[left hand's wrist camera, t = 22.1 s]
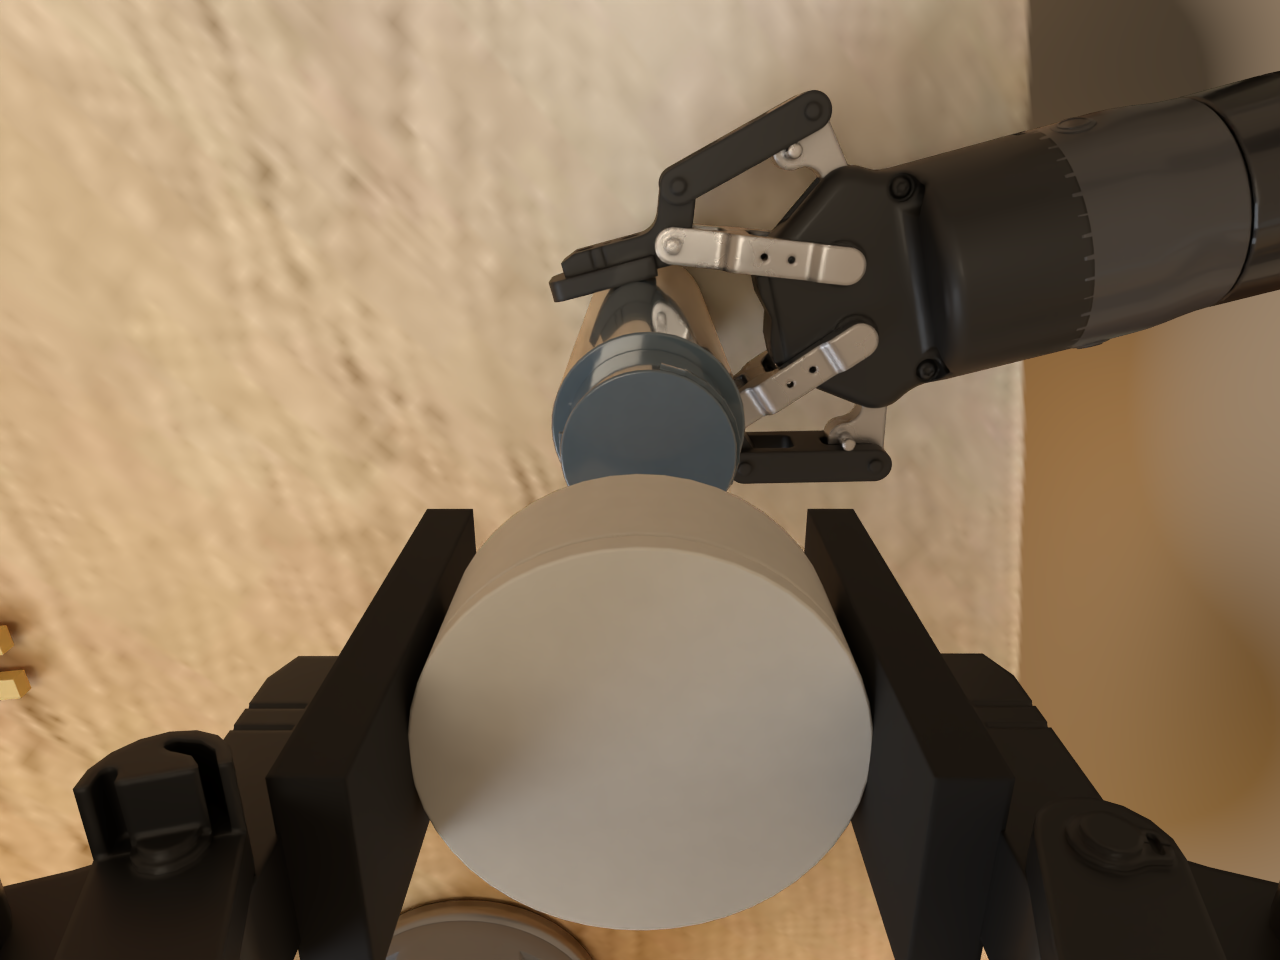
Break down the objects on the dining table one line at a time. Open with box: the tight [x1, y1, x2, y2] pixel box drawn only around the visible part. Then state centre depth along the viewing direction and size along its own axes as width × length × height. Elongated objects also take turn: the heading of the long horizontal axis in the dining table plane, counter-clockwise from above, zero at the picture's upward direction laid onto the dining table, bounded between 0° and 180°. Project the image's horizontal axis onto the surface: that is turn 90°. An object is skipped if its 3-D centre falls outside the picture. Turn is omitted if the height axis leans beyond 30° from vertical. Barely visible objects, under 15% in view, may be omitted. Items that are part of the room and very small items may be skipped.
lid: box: [408, 474, 873, 930], centre depth 11 cm, size 6×6×2 cm
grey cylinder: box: [552, 265, 745, 492], centre depth 28 cm, size 5×5×18 cm
